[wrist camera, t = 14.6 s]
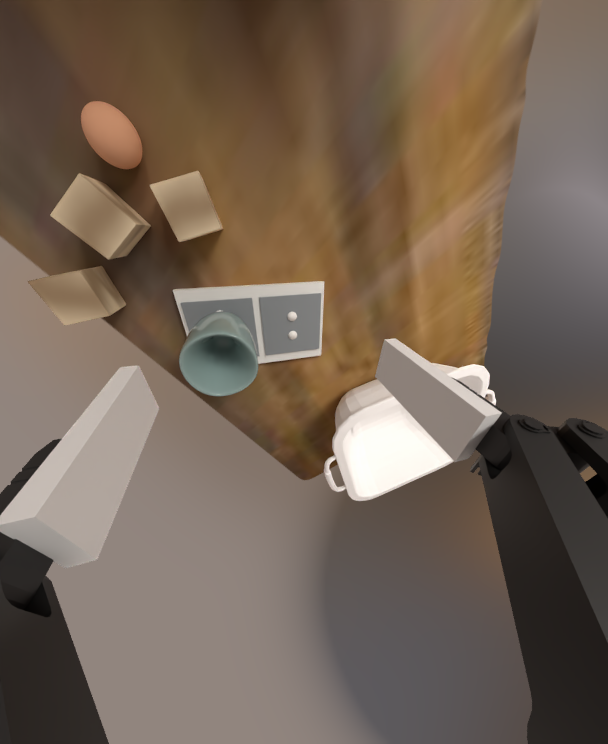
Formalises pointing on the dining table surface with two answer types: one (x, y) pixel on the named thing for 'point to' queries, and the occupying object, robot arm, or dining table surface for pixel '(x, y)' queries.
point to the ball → (111, 135)
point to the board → (264, 315)
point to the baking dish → (388, 437)
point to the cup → (219, 355)
